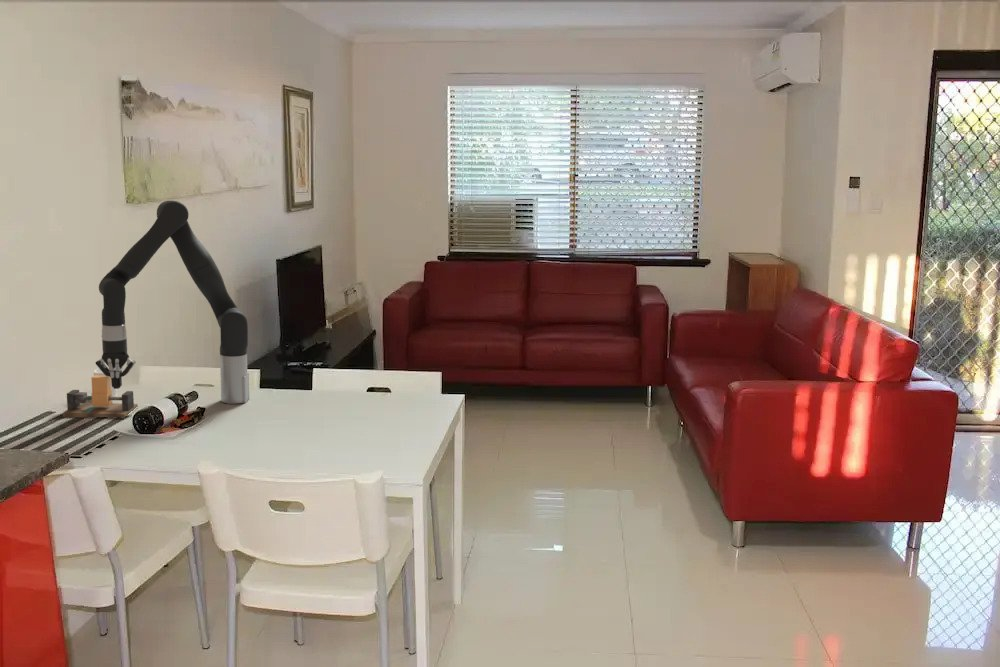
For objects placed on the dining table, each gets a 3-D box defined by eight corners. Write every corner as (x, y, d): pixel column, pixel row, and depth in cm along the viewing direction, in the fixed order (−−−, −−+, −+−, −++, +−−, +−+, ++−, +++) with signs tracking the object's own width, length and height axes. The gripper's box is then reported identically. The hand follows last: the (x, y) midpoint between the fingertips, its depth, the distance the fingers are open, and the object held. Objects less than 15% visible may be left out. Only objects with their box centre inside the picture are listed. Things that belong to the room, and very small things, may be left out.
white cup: (90, 399, 318) (88, 372, 316) (104, 393, 325) (102, 367, 323) (109, 401, 316) (108, 374, 314) (123, 395, 324) (122, 368, 322)
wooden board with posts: (137, 408, 310) (136, 388, 308) (124, 418, 298) (123, 397, 296) (78, 406, 309) (77, 387, 307) (63, 416, 297) (61, 396, 296)
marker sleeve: (112, 402, 305) (111, 375, 303) (107, 406, 301) (105, 378, 299) (97, 402, 305) (95, 374, 303) (92, 406, 300) (90, 378, 299)
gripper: (138, 335, 302) (140, 385, 306) (98, 334, 302) (101, 384, 305) (130, 340, 295) (132, 391, 298) (89, 339, 294) (92, 390, 298)
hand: (116, 388), depth 302 cm, fingers closed
